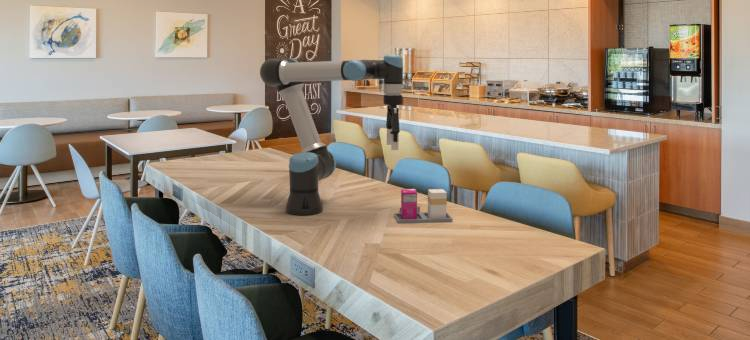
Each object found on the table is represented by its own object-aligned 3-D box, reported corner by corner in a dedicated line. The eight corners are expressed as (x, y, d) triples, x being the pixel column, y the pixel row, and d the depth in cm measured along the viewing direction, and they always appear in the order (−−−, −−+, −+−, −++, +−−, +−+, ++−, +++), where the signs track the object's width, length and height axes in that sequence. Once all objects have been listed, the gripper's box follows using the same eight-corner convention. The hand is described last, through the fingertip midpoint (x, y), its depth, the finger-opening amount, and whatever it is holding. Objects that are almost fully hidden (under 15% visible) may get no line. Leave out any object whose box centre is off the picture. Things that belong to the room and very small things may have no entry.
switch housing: (399, 215, 233) (399, 207, 233) (407, 211, 238) (407, 204, 238) (412, 217, 230) (412, 210, 230) (419, 214, 235) (419, 206, 235)
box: (430, 220, 222) (431, 193, 220) (427, 216, 228) (428, 189, 226) (446, 220, 223) (447, 192, 221) (442, 216, 229) (443, 189, 226)
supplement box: (400, 217, 227) (401, 188, 225) (415, 217, 227) (416, 188, 225) (401, 221, 221) (402, 192, 219) (417, 221, 221) (417, 192, 219)
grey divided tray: (398, 225, 219) (398, 220, 218) (394, 218, 229) (394, 213, 228) (452, 224, 221) (452, 218, 221) (446, 217, 231) (446, 211, 231)
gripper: (407, 96, 218) (406, 152, 223) (397, 92, 243) (396, 142, 247) (387, 96, 218) (387, 152, 222) (379, 92, 242) (379, 142, 246)
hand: (392, 147), depth 234 cm, fingers open, 13 cm apart
